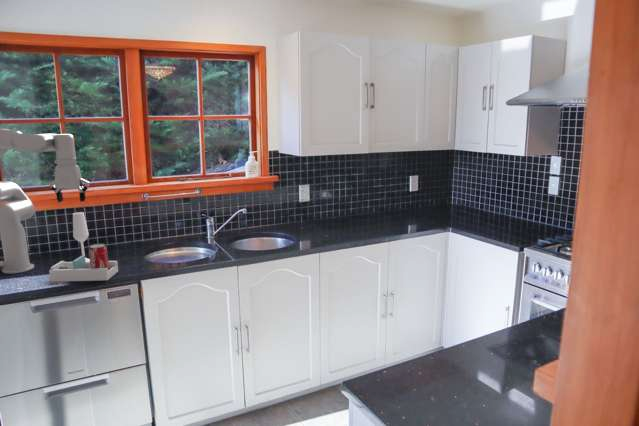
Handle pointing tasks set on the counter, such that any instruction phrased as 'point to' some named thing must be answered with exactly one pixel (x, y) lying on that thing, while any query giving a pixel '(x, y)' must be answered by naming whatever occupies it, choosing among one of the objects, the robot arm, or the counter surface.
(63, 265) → the light grey tray
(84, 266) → the pusher plate
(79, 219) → the champagne flute
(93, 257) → the soda can
